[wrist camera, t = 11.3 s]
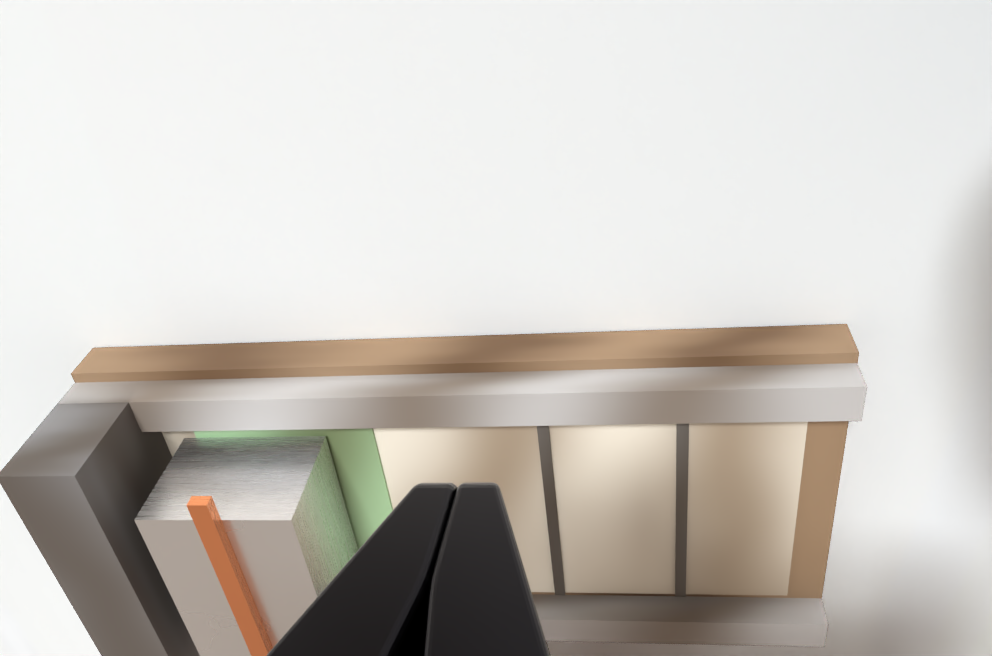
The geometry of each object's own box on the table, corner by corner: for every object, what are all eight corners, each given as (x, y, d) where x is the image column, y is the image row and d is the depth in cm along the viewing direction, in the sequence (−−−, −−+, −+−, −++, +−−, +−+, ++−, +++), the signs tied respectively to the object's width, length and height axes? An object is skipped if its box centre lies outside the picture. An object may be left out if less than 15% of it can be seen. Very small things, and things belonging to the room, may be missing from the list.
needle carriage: (319, 412, 22) (278, 505, 19) (374, 603, 26) (347, 701, 24) (175, 415, 23) (116, 505, 20) (251, 601, 27) (211, 697, 24)
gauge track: (846, 323, 21) (904, 458, 17) (809, 593, 26) (845, 743, 22) (93, 347, 24) (-9, 466, 20) (200, 585, 29) (137, 716, 25)
